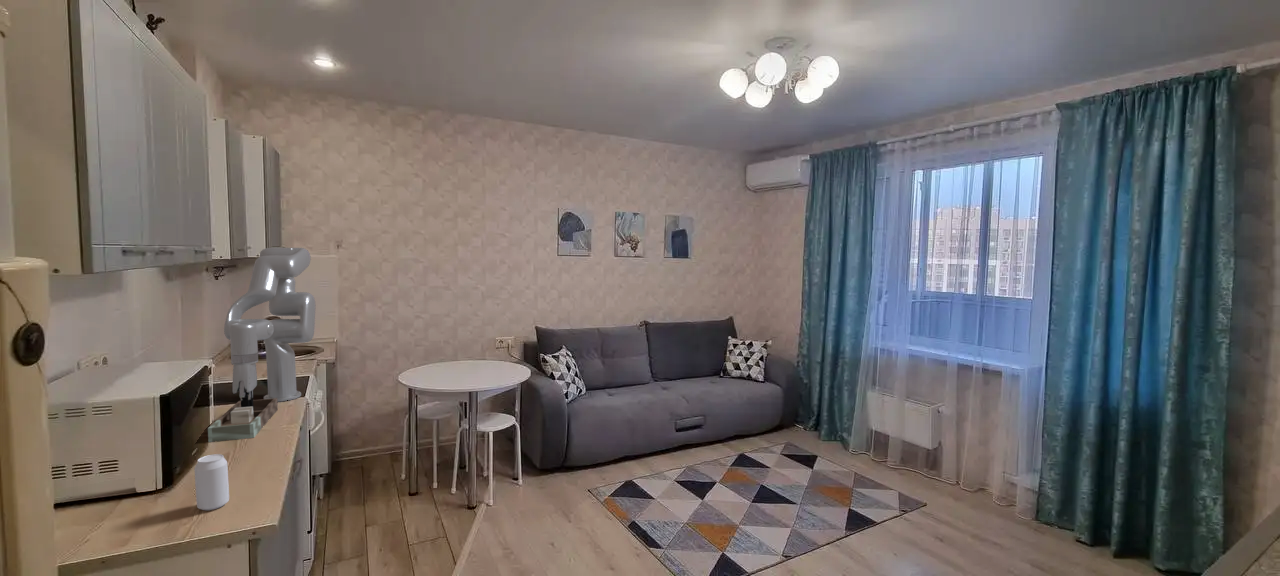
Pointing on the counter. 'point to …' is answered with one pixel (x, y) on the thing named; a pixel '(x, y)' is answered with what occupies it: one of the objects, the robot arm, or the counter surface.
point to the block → (242, 415)
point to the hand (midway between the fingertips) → (247, 410)
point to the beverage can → (211, 482)
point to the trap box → (229, 431)
